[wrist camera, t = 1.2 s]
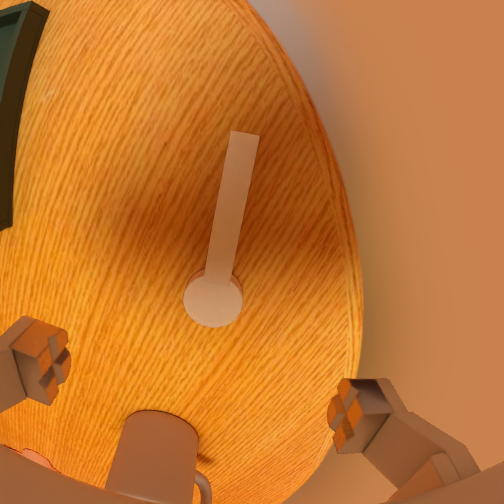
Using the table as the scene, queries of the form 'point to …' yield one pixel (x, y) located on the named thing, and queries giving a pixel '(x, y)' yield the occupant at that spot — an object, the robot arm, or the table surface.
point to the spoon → (224, 240)
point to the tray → (14, 87)
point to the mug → (157, 460)
